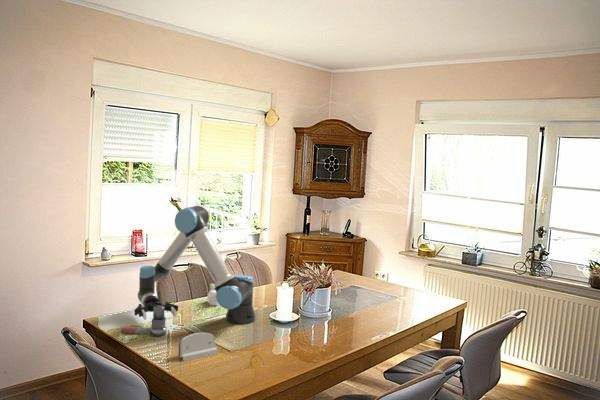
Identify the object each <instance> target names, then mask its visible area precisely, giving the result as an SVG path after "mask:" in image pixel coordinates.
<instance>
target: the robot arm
mask: <svg viewBox="0 0 600 400" xmlns="http://www.w3.org/2000/svg"><path fill="white" fill-rule="evenodd" d="M209 220H210V213H209V212H208V210H207V209H206V208H205V207H203V206H201V205H194V206H190V207H185V208H182V209H179V211H178V212H177V213H176V214H175V218H174V224H175V225H174V226H175V227H176V230H177V231H179V233H178V234H177V236H176V237H175V239H174V240H173V242H172V243H171V244H170V246H169V247H168V248H167V250H166V251H165V252H164V254H163V255H162V257H161V258H160V259H159V260H158V262H157V263H156V265H155V266H153V265H142V266H141V267H140V268H139V273H138V274H139V276H138V277H139V281H138V283H139V285H138V286H139V288H138V293H137V298H138V301H139V303H138V306H137V307H135V308H134V316H137V315H138V317H139V318H141V317H142V318H143V320H144V321H145V320H147V313H149V312H150V313H151V312H152V313H153V307H154V306H157V305H162V306H165V311H166V312H170V313H171V314H172V316H173V317H174V318H176V317H177V312H178V311H179V305H177V304H173V303H170V302H168V301H165V302H161V301H160V299H159V298H158V297H157V295H156V294H155V290H156V289H155V288H156V287H155V286H156V285H155V284H156V282H159V281H161V280H164V279H166V278H167V277H168V276H170V274H171V270H172V268H173V267H174V266H175V264H176V263H177V262H178V260H179V259H180V257H181V256H182V255H183V253H184V252H185V251H186V249H187V248H188V247H189V246H190V244H191V243H192V244H193V245H194V248H195V249H196V251H197V253H198V254H199V256H200V258H201V260H202V262H203V263H204V266H205V267H206V269H207V271H208V272H209V274H210V276H211V278H212V280H213V281H214V285H215V286H214V288H215V290H216V292H217V295H216V299H217V302H218V304H219V305H218V306H220V307H221V308H223V309H227V310H226V314H225V320H226V322H228V323H230V324H231V323H232V324H238V325H242V324H243V325H244V324H252V323H253V322H255V321H256V313H255V310H254V307H253V303H254V302H253V299H254V277H253V276H252V275H246V274H231V273H230V270H229V268H228V266H227V265H226V262H225V261H224V259H223V258H222V256H221V254H220V252H219V251H218V249H217V247H216V246H215V244H214V241H213V240H212V239H211V236H210V235H209V233H208V229H209V226H208V223H209ZM165 311H164V312H165Z"/></svg>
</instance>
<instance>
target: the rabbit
mask: <svg viewBox="0 0 600 400" xmlns="http://www.w3.org/2000/svg"><path fill="white" fill-rule="evenodd" d="M209 286H210V290H209V291H208V293H207V297H206V298H207V302H208V304H209V305H211V306H217V307H218V306H220V305H219V304H218V302H217V299H216V295H217V292H216V290H215V288H214V286H215V283H209Z"/></svg>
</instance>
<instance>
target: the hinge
mask: <svg viewBox="0 0 600 400" xmlns="http://www.w3.org/2000/svg"><path fill="white" fill-rule="evenodd" d="M177 349H178V350H177V351H178V352H177V354H178V355H177V357H178V358H182V361H183V362H186V361H190V360H195V359H200V358H204V357H205V358H206V357H207V356H213V355H218V354H219V351H218V348H217V345H216V341H215V337H214V334H212V333H208V332H195V333H191V334H188V335H186V336H183V337H182V338H180V339H179V340H178V342H177Z"/></svg>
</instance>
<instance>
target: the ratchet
mask: <svg viewBox="0 0 600 400" xmlns="http://www.w3.org/2000/svg"><path fill="white" fill-rule="evenodd" d="M121 334H122V335H123V334H124V335H125V334H126V335H147V336H149V335H150V336H151V337H154V338H159V337H160V338H161V337H165V336H166V335H167V327H166V326H165V327H164V329H163V330H154V329H152V326H151V327H150V328H149V327H148V328H147V327H138V326H135V325H134V326H133V325H132V326H131V325H124V326H122V327H121Z"/></svg>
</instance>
